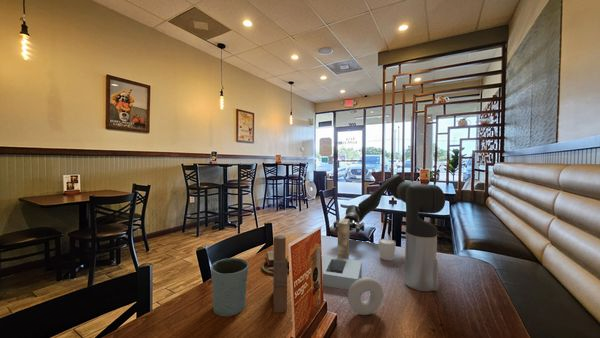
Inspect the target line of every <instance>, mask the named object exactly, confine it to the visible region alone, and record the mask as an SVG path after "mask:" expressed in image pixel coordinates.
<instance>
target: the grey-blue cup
mask: <svg viewBox="0 0 600 338" xmlns="http://www.w3.org/2000/svg"><path fill="white" fill-rule="evenodd" d="M210 274H211V275H210V277H211V285H212V287H211V288H212V290H211V291H212V309H213V312H214V314H216V315H217V316H220V317H231V316H234V315H238V314H240V313H241V312H242V311H243V310H244V308H245V307H246V299H247V286H248V285H247V284H248V283H247V281H248V274H249V261H247V260H245V259H243V258H239V257H238V258H237V257H229V258H223V259H220V260H217V261H215V262H213V263H212V264H211V266H210Z"/></svg>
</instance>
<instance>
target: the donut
mask: <svg viewBox="0 0 600 338" xmlns="http://www.w3.org/2000/svg"><path fill="white" fill-rule="evenodd" d="M365 292H369V293H370V294H369V296H368V298H366V300H362V295H363V294H364V293H365ZM383 298H384V291H383V287H382V285H381V284H380V283H379V281H377V280H376V279H375V278H373V277H369V276H368V277H367V276H366V277H365V276H364V277H360V279H358V280H357V281H355V282H354V283H353V284H352V286H351V287H350V289H349V290H348V294H347V303H348V305H349V307H350V309H351V310H352V311H354V312H355V313H356V314H358V315H361V316H368V315H371V314H374V313H375V312H376V311H377V310H378V309H379V308H380V307H381V305H382V303H383V301H384V300H383Z"/></svg>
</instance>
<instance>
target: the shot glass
mask: <svg viewBox="0 0 600 338" xmlns="http://www.w3.org/2000/svg"><path fill="white" fill-rule="evenodd" d="M396 245H397V242H396V240H393V239H388V238H381V239H378V248H379V251H378V252H379V258H380V259H381V258H382V260H385V261H394V260H395V251H396Z"/></svg>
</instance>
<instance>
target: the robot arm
mask: <svg viewBox="0 0 600 338" xmlns="http://www.w3.org/2000/svg"><path fill="white" fill-rule="evenodd" d="M386 190H387V191H388V192H389V193H390V194H391V195H392V197H394V199H396V200H398V201H401V202H403V203H405V225H406V226H405V247H404V248H405V250H404V251H405V254H404V283H405V285H406V286H408V287H409V288H410V289H413V290H416V291H420V292H432V291H434V292H436V291H437V289H438V269H439V267H438V265H439V263H438V260H437V252H438V251H437V247H438V226H436V225H435V224H434V223H431V222H429V221H426V220H423V219H422V218H420V217H419V213H420V214H436V213H437V214H438V213H440V212H442V210H443V209H444V208H445V206H446V196H445V193H444V191H443V190H442V188H441V187H440V186H438V185H436V184H424V183H423V184H422V183H420V182H416V181H412V180H405V179H404V177H403V176H402V175H400V174H394V175H392V176H391V177H389V178H388V179H387V180H386V181H385V182H384V183H382V184H381V185H379V187H378V188H377V189H376V190H375V191H374V192H373V193H372V194H371V195H369V196H368V197H367V198H365V199H363V200H362V201H361V202H359V203H358V207H357V206H356V205H354V204H351V205H349V206H348V207H346V210H345V216H344V217H343V219H350V221H349V232H351V231H352V232H353V231H355V233H356V234H357V233H359V232H360V231H362V232H365V222H362V221H363V220H364V218H365V217H366V216H367V215H368V214H369V213H371V212H372V211H374V210H376V209H377V207H379V205H380V202H381V199H382V196H383V195H384V193H385V192H386ZM339 221H340V220H339V219H337V220H335V221H333V223H332V224H333V226H332V227H333V229H335V231H337V232H338V222H339Z"/></svg>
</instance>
